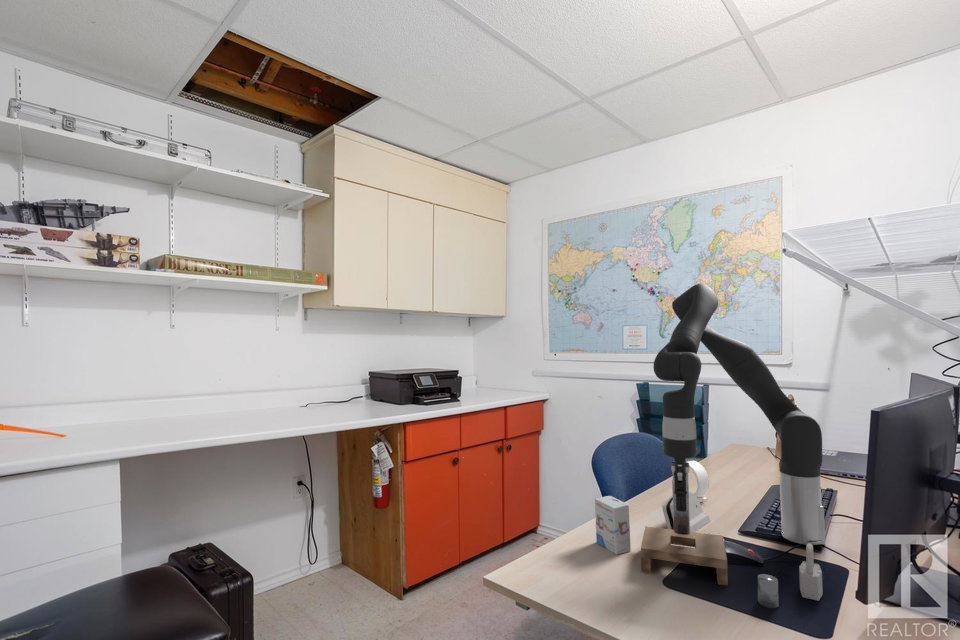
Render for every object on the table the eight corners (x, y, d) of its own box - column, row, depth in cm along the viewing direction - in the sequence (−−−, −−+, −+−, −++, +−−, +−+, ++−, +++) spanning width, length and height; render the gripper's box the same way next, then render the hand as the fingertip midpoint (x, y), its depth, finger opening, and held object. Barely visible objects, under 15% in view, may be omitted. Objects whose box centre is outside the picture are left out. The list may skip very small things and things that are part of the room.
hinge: (686, 537, 134) (673, 499, 137) (670, 539, 138) (657, 502, 140) (711, 520, 146) (698, 486, 149) (695, 522, 149) (683, 488, 152)
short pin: (775, 600, 103) (775, 575, 103) (780, 609, 99) (780, 583, 99) (756, 597, 104) (755, 573, 104) (760, 606, 100) (759, 581, 100)
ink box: (594, 542, 133) (593, 497, 133) (610, 539, 135) (609, 494, 135) (615, 555, 125) (614, 507, 125) (631, 551, 127) (630, 504, 127)
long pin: (689, 530, 120) (688, 479, 120) (690, 535, 117) (688, 483, 117) (673, 528, 121) (672, 478, 122) (673, 533, 118) (672, 482, 118)
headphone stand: (694, 496, 168) (693, 460, 168) (710, 501, 163) (708, 464, 163) (684, 498, 166) (683, 462, 166) (699, 504, 161) (698, 466, 161)
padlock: (822, 602, 101) (820, 552, 102) (798, 597, 104) (797, 548, 104) (823, 588, 107) (821, 540, 107) (800, 582, 110) (799, 536, 110)
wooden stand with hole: (723, 558, 122) (722, 535, 122) (727, 585, 109) (727, 560, 109) (645, 547, 129) (645, 526, 129) (641, 572, 116) (640, 548, 116)
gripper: (696, 442, 112) (699, 520, 111) (695, 430, 125) (698, 500, 124) (661, 440, 115) (663, 516, 114) (663, 429, 128) (665, 497, 127)
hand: (681, 507), depth 119 cm, fingers closed on long pin, 3 cm apart
